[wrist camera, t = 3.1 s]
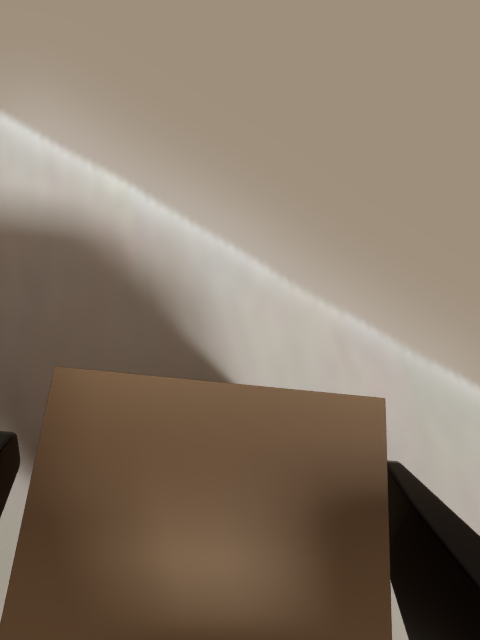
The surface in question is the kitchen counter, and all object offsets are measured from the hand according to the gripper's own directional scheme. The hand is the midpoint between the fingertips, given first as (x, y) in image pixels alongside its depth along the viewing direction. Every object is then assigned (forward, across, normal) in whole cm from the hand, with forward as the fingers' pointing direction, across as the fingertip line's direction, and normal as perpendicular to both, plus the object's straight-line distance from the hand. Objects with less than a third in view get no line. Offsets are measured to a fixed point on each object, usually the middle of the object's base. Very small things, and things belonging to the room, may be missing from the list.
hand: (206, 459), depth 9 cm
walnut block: (+4, 0, +6) cm, 7 cm away
